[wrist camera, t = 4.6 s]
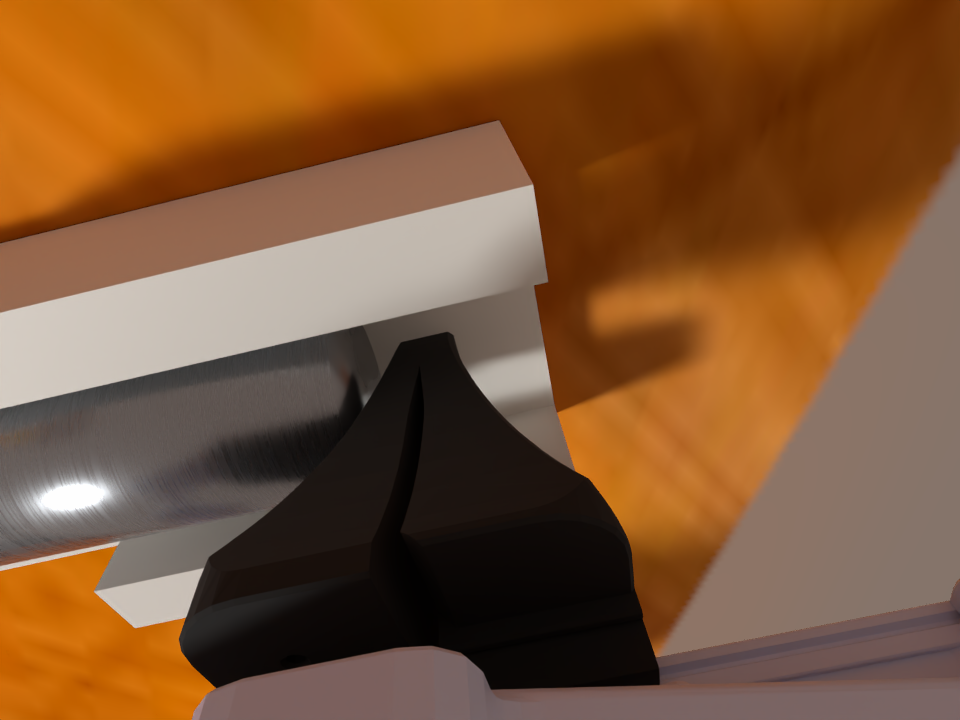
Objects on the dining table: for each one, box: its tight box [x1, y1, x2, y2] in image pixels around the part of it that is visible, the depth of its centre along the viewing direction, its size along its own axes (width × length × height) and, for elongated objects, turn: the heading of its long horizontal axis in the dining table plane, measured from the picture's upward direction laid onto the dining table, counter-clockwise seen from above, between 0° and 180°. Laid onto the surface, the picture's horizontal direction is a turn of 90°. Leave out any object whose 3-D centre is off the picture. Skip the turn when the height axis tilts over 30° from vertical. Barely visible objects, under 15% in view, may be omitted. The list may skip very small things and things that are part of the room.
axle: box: [0, 325, 381, 566], centre depth 12 cm, size 10×4×4 cm, turn 101°
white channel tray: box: [0, 120, 575, 628], centre depth 14 cm, size 9×20×4 cm, turn 102°
